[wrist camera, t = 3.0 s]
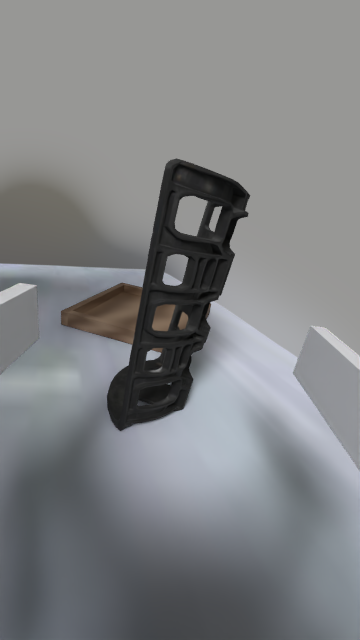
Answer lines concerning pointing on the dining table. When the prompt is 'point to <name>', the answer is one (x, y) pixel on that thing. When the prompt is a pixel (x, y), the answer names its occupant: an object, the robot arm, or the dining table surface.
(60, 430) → the dining table surface
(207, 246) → the holder
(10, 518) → the dining table surface
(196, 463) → the dining table surface
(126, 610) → the dining table surface
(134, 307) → the tray
